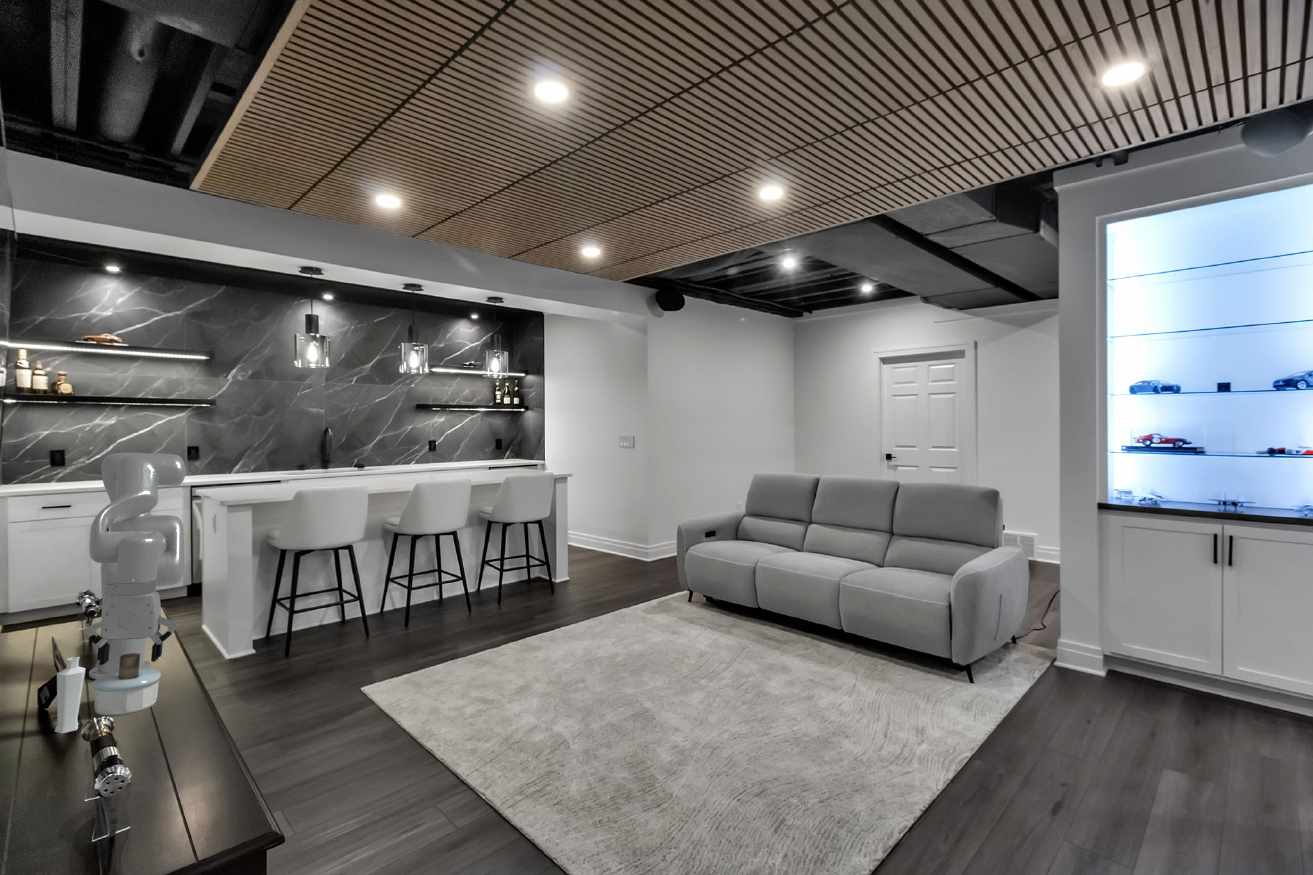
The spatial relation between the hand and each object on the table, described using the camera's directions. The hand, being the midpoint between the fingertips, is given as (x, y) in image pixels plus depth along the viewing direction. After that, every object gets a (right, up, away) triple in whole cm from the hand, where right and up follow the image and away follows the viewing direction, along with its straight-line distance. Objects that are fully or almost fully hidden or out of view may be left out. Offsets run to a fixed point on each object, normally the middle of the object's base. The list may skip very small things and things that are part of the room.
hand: (129, 661), depth 148 cm
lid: (0, -5, 0) cm, 5 cm away
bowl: (-1, -10, 0) cm, 10 cm away
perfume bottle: (-2, -10, -13) cm, 17 cm away
